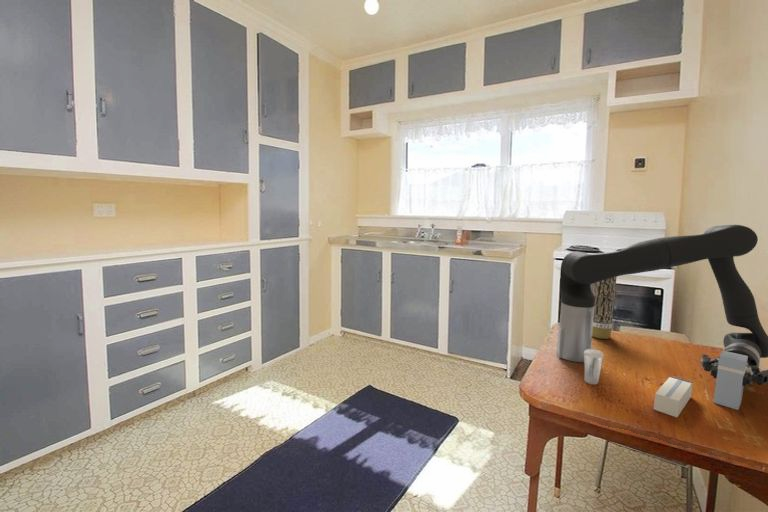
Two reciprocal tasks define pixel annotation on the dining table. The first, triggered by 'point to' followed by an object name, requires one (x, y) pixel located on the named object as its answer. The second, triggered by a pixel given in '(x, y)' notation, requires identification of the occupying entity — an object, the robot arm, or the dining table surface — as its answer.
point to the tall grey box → (730, 379)
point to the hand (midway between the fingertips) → (729, 378)
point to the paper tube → (603, 308)
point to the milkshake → (592, 365)
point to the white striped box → (673, 396)
